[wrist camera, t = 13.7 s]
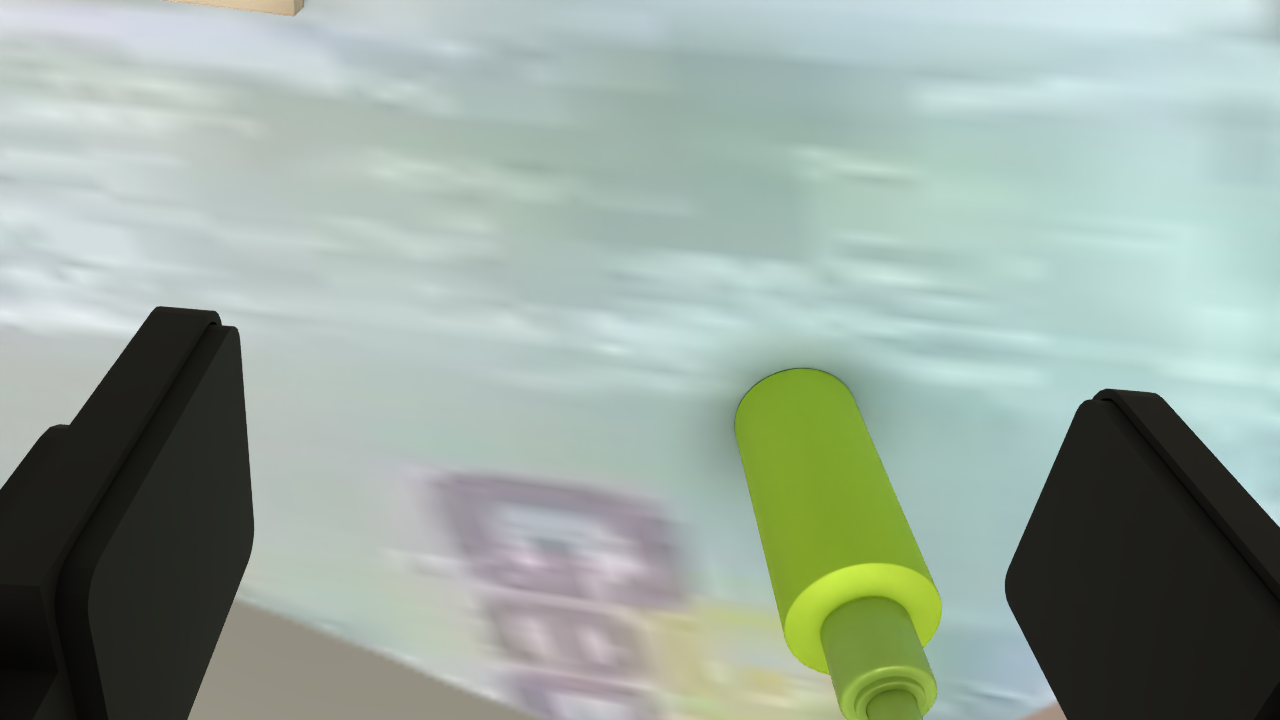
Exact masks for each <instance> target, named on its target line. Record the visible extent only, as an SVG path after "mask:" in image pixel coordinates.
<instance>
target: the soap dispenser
mask: <svg viewBox="0 0 1280 720" xmlns="http://www.w3.org/2000/svg"><path fill="white" fill-rule="evenodd" d="M735 434H736V439H737V443H738V447H739V451H740V455H741V459H742V463H743V467H744V472H745V476H746V480H747V484H748V488H749V492H750V496H751V500H752V505H753V509H754V513H755V517H756V521H757V525H758V529H759V533H760V538H761V542H762V546H763V550H764V554H765V558H766V562H767V566H768V570H769V575H770V579H771V583H772V587H773V591H774V595H775V599H776V603H777V608H778V612H779V616H780V620H781V624H782V628H783V632H784V636H785V640H786V643H787V645H788V647H789V649H790V651H791V652H792V654H793V655H794V656H795V657H796V658H797V659H798V660H799V661H800V662H801V663H803V664H804V665H806V666H807V667H809V668H811V669H813V670H816V671H818V672H821V673H824V674H828V675H830V676H831V679H832V683H833V686H834V690H835V693H836V697H837V701H838V704H839V707H840V710H841V712H842V714H843V716H844V717H845V718H846V719H847V720H923V718H922V717H923V716H924V715H925V714H926V713H927V712H928V711H929V710H930V708H931V707H932V705H933V704H934V702H935V699H936V696H937V685H936V681H935V678H934V676H933V673H932V670H931V668H930V665H929V663H928V660H927V658H926V655H925V653H924V650H923V648H924V647H925V646H926V645H927V643H928V642H929V641H930V640H931V638H932V637H933V635H934V634H935V632H936V630H937V628H938V626H939V623H940V619H941V614H942V605H941V599H940V596H939V593H938V591H937V589H936V586H935V584H934V582H933V579H932V577H931V575H930V573H929V570H928V568H927V566H926V563H925V561H924V559H923V556H922V554H921V552H920V550H919V547H918V545H917V543H916V540H915V538H914V536H913V534H912V531H911V529H910V527H909V524H908V522H907V520H906V517H905V515H904V513H903V511H902V508H901V506H900V504H899V501H898V499H897V497H896V494H895V492H894V490H893V488H892V485H891V483H890V481H889V478H888V476H887V474H886V471H885V469H884V467H883V465H882V462H881V460H880V458H879V455H878V453H877V451H876V448H875V446H874V444H873V442H872V439H871V437H870V435H869V432H868V430H867V428H866V425H865V423H864V421H863V419H862V416H861V414H860V412H859V409H858V407H857V405H856V402H855V400H854V398H853V396H852V394H851V392H850V391H849V389H848V388H847V387H846V386H845V384H844V383H842V382H841V381H840V380H839V379H837V378H836V377H834V376H832V375H830V374H828V373H826V372H823V371H819V370H814V369H791V370H786V371H782V372H779V373H776V374H774V375H771V376H769V377H767V378H765V379H764V380H762V381H761V382H759V383H758V384H756V385H755V386H754V387H753V388H752V389H751V390H750V391H749V392H748V393H747V394H746V395H745V397H744V398H743V400H742V401H741V403H740V405H739V407H738V410H737V413H736V416H735Z"/></svg>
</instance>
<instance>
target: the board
mask: <svg viewBox="0 0 1280 720" xmlns="http://www.w3.org/2000/svg"><path fill="white" fill-rule="evenodd" d="M165 1H173V2H181V3H189V4H198V5H206V6H214V7H222V8H230V9H238V10H247V11H255V12H263V13H271V14H279V15H287V16H295V15H296V14H297V13H298V12H299V11H300V10H301V9H302V8H303V7H304V6H303V0H165Z"/></svg>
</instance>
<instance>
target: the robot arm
mask: <svg viewBox="0 0 1280 720" xmlns="http://www.w3.org/2000/svg"><path fill="white" fill-rule="evenodd" d="M253 538H254V517H253V503H252V490H251V477H250V464H249V451H248V438H247V424H246V411H245V398H244V385H243V372H242V359H241V346H240V337H239V332H238V329H237V328H236V327H234V326H223V325H222V323H221V319H220V317H219V314H218V313H217V312H216V311H209V310H198V309H186V308H175V307H163V306H160V307H156V308H155V309H154V310H153V311H152V312H151V313H150V315H149V316H148V318H147V319H146V320H145V322H144V323H143V325H142V326H141V327H140V329H139V330H138V331H137V333H136V334H135V336H134V337H133V338H132V340H131V341H130V342H129V344H128V345H127V347H126V348H125V349H124V351H123V352H122V353H121V355H120V356H119V358H118V359H117V360H116V362H115V363H114V365H113V366H112V367H111V369H110V370H109V371H108V373H107V374H106V376H105V377H104V378H103V380H102V381H101V382H100V384H99V385H98V387H97V388H96V389H95V391H94V392H93V394H92V395H91V396H90V398H89V399H88V400H87V402H86V403H85V405H84V406H83V407H82V409H81V410H80V411H79V413H78V414H77V416H76V417H75V418H74V420H73V421H72V423H71V424H70V425H62V424H59V425H56V426H52V427H50V428H49V429H48V430H47V431H46V432H45V433H44V434H43V435H42V436H41V437H40V438H39V439H38V440H37V442H36V443H35V444H34V446H33V447H32V448H31V450H30V451H29V452H28V454H27V455H26V456H25V458H24V459H23V460H22V462H21V463H20V464H19V466H18V467H17V468H16V470H15V471H14V472H13V474H12V475H11V476H10V478H9V479H8V480H7V482H6V483H5V484H4V486H3V487H2V488H1V490H0V720H187V719H188V716H189V713H190V711H191V708H192V706H193V703H194V701H195V698H196V696H197V693H198V690H199V688H200V685H201V682H202V680H203V677H204V675H205V672H206V669H207V667H208V664H209V662H210V659H211V657H212V654H213V652H214V649H215V646H216V644H217V641H218V638H219V636H220V634H221V631H222V628H223V626H224V623H225V621H226V618H227V615H228V613H229V610H230V608H231V605H232V603H233V600H234V597H235V595H236V592H237V590H238V587H239V584H240V582H241V579H242V577H243V574H244V572H245V569H246V566H247V564H248V561H249V558H250V555H251V550H252V545H253ZM1005 593H1006V599H1007V601H1008V604H1009V606H1010V608H1011V610H1012V612H1013V614H1014V616H1015V618H1016V620H1017V622H1018V624H1019V626H1020V628H1021V630H1022V632H1023V634H1024V636H1025V638H1026V640H1027V642H1028V644H1029V646H1030V648H1031V650H1032V652H1033V653H1034V655H1035V657H1036V659H1037V661H1038V663H1039V665H1040V667H1041V669H1042V671H1043V673H1044V675H1045V677H1046V679H1047V681H1048V683H1049V685H1050V687H1051V689H1052V691H1053V693H1054V695H1055V697H1056V699H1057V701H1058V702H1059V704H1060V706H1061V708H1062V710H1063V712H1064V714H1065V716H1066V718H1067V720H1280V527H1279V526H1278V525H1277V524H1276V523H1275V522H1274V521H1273V520H1272V519H1271V518H1270V516H1269V515H1268V514H1267V513H1266V512H1265V511H1264V510H1263V509H1262V508H1261V506H1260V505H1259V504H1258V503H1257V502H1256V501H1255V500H1254V499H1253V498H1252V496H1251V495H1250V494H1249V493H1248V492H1247V491H1246V490H1245V489H1244V488H1243V487H1242V485H1241V484H1240V483H1239V482H1238V481H1237V480H1236V479H1235V478H1234V477H1233V475H1232V474H1231V473H1230V472H1229V471H1228V470H1227V469H1226V468H1225V467H1224V466H1223V464H1222V463H1221V462H1220V461H1219V460H1218V459H1217V458H1216V457H1215V456H1214V454H1213V453H1212V452H1211V451H1210V450H1209V449H1208V448H1207V447H1206V446H1205V444H1204V443H1203V442H1202V441H1201V440H1200V439H1199V438H1198V437H1197V436H1196V435H1195V433H1194V432H1193V431H1192V430H1191V429H1190V428H1189V427H1188V426H1187V425H1186V423H1185V422H1184V421H1183V420H1182V419H1181V418H1180V417H1179V416H1178V415H1177V413H1176V412H1175V411H1174V410H1173V409H1172V408H1171V407H1170V406H1169V405H1168V404H1167V402H1166V401H1165V400H1164V399H1163V398H1162V397H1160V396H1159V395H1158V394H1156V393H1150V392H1140V391H1129V390H1117V389H1104V390H1101V391H1099V392H1098V393H1097V394H1096V395H1095V396H1094V397H1093V399H1092V400H1086V401H1084V402H1083V403H1082V404H1081V405H1080V406H1079V408H1078V409H1077V411H1076V413H1075V416H1074V418H1073V420H1072V423H1071V425H1070V427H1069V430H1068V432H1067V434H1066V437H1065V439H1064V441H1063V443H1062V446H1061V448H1060V450H1059V453H1058V455H1057V457H1056V460H1055V462H1054V464H1053V467H1052V469H1051V471H1050V473H1049V476H1048V478H1047V480H1046V483H1045V485H1044V487H1043V490H1042V492H1041V494H1040V497H1039V499H1038V501H1037V504H1036V506H1035V508H1034V510H1033V513H1032V515H1031V517H1030V520H1029V522H1028V524H1027V527H1026V529H1025V531H1024V534H1023V536H1022V538H1021V540H1020V543H1019V545H1018V547H1017V550H1016V552H1015V554H1014V557H1013V559H1012V561H1011V564H1010V566H1009V568H1008V571H1007V574H1006V579H1005Z"/></svg>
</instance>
